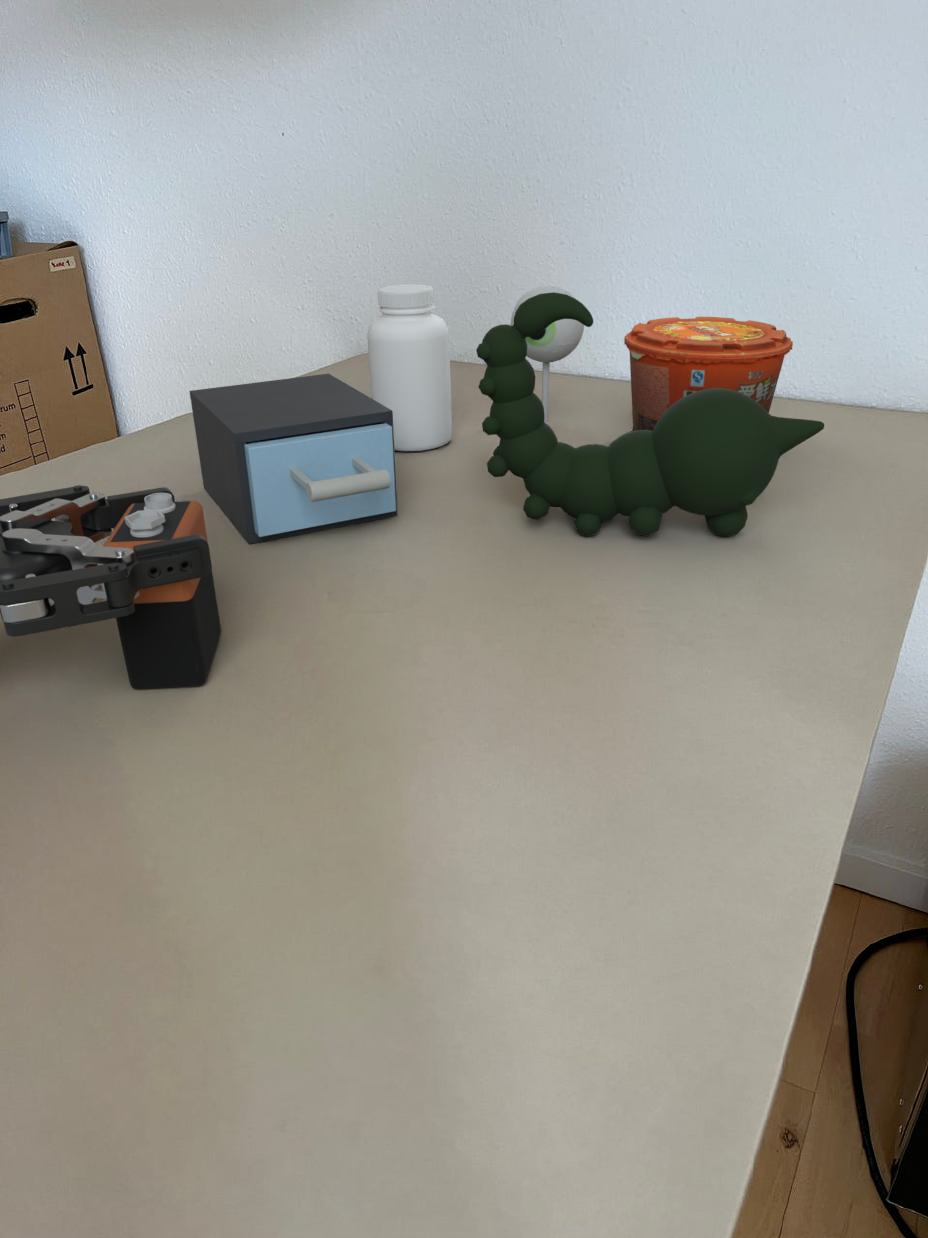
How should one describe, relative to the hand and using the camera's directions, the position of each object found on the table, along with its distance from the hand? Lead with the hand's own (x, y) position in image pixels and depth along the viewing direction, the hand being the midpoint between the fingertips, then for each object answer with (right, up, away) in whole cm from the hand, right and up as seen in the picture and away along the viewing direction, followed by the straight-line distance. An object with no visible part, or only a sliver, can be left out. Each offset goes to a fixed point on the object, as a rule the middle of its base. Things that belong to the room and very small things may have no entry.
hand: (190, 528), depth 54 cm
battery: (-2, -8, +3) cm, 9 cm away
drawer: (+3, +4, +23) cm, 24 cm away
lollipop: (+24, +13, +43) cm, 50 cm away
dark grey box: (+1, +5, +27) cm, 28 cm away
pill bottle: (+10, +13, +42) cm, 46 cm away
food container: (+39, +13, +43) cm, 60 cm away
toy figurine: (+29, +2, +21) cm, 36 cm away
